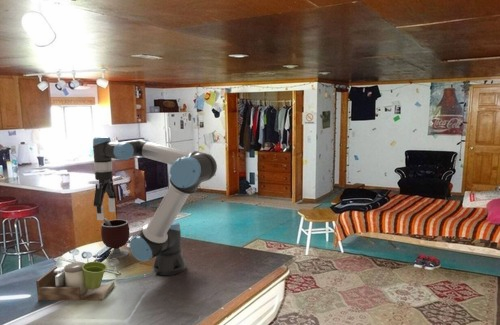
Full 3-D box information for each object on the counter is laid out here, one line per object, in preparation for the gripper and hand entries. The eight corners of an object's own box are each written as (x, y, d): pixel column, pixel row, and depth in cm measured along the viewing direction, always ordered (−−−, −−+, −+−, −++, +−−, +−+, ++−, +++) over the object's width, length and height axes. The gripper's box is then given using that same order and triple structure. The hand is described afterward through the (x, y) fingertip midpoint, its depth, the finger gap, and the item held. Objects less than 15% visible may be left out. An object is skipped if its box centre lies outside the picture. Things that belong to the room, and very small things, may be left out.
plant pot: (95, 294, 159) (98, 274, 158) (75, 287, 161) (77, 268, 159) (108, 284, 168) (111, 265, 167) (88, 278, 170) (91, 259, 169)
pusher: (73, 284, 171) (71, 263, 170) (59, 297, 160) (57, 274, 158) (65, 284, 171) (63, 263, 170) (50, 297, 160) (48, 274, 158)
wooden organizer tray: (115, 286, 172) (114, 267, 170) (102, 302, 158) (100, 281, 157) (56, 286, 173) (54, 266, 172) (38, 302, 159) (36, 280, 158)
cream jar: (90, 286, 170) (89, 262, 168) (82, 296, 162) (80, 270, 160) (71, 286, 170) (70, 262, 168) (62, 295, 162) (60, 270, 160)
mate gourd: (135, 251, 213) (133, 215, 210) (119, 260, 200) (117, 222, 197) (111, 248, 218) (109, 212, 215) (94, 257, 205) (91, 219, 202)
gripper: (106, 166, 194) (109, 208, 197) (83, 175, 170) (86, 223, 173) (121, 166, 194) (123, 208, 197) (100, 175, 169) (103, 223, 172)
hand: (106, 215), depth 185 cm, fingers open, 13 cm apart
